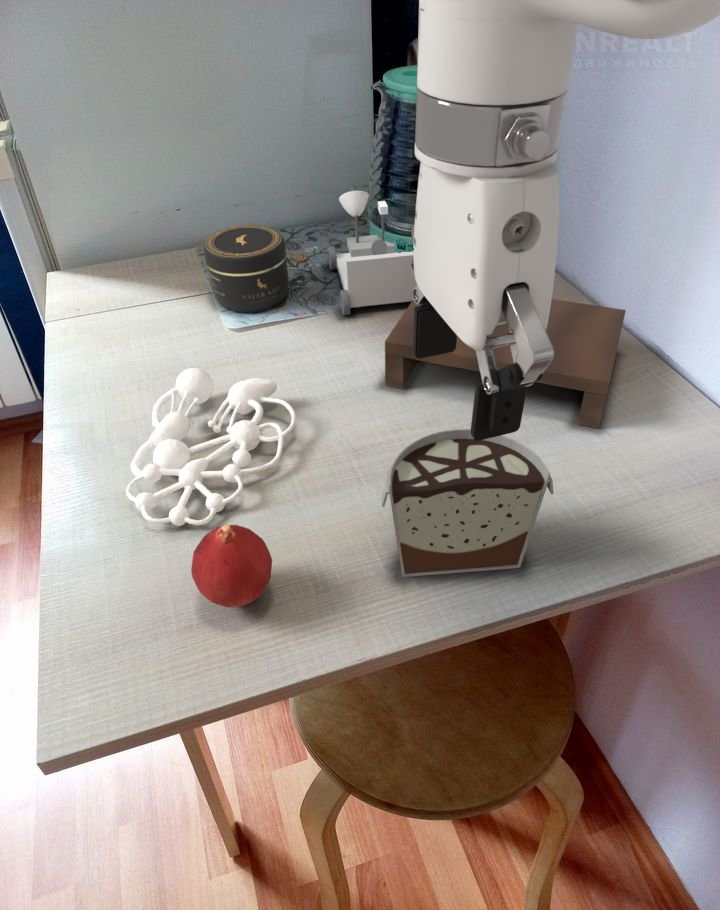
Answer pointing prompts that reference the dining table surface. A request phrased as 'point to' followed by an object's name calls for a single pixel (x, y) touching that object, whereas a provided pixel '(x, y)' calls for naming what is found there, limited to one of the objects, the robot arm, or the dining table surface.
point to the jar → (247, 267)
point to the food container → (464, 502)
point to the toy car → (371, 263)
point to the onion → (231, 566)
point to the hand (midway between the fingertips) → (462, 390)
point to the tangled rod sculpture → (176, 455)
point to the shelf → (574, 365)
